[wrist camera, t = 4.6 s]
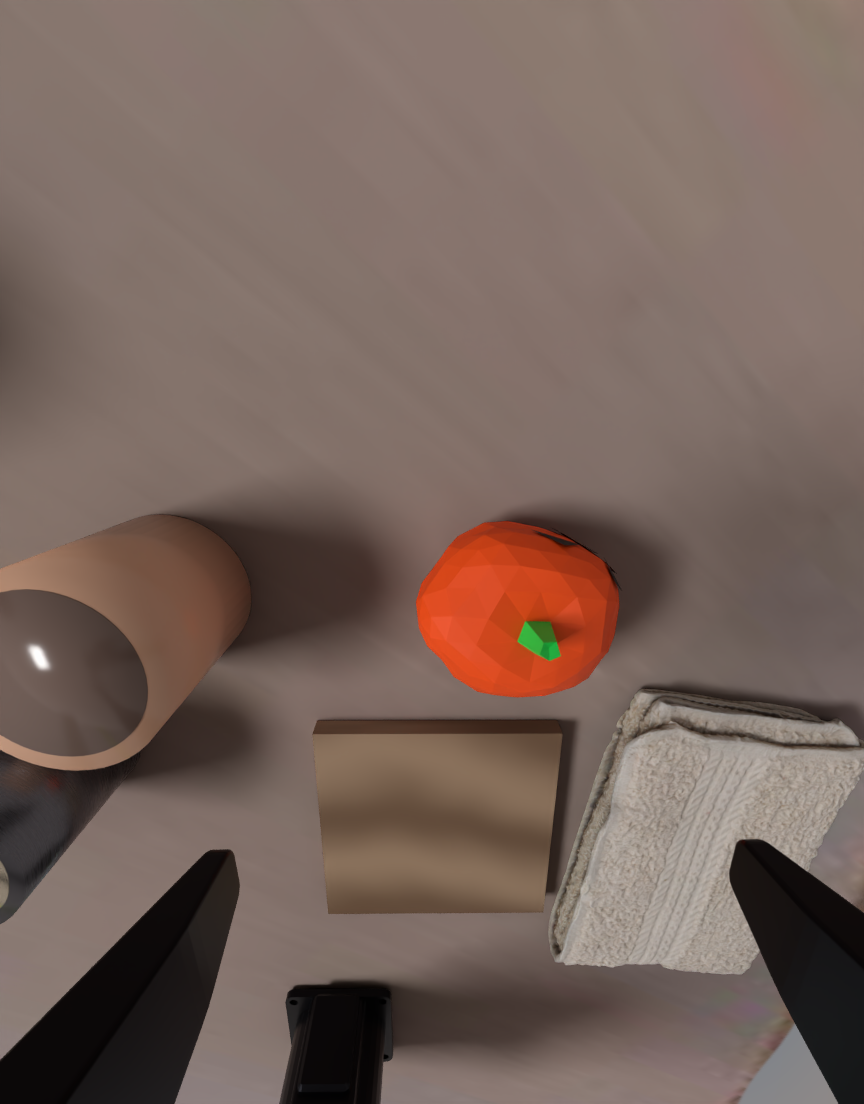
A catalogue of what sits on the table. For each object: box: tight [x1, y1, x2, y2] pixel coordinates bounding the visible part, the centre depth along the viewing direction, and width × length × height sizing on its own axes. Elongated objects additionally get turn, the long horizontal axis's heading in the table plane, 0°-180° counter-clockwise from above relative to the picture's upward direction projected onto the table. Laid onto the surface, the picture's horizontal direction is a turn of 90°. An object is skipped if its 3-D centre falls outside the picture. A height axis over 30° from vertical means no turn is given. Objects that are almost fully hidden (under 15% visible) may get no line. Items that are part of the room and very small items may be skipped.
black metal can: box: [0, 750, 140, 924], centre depth 20 cm, size 6×6×7 cm
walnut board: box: [312, 720, 563, 914], centre depth 24 cm, size 12×12×1 cm
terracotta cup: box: [0, 514, 251, 771], centre depth 17 cm, size 7×7×7 cm
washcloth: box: [549, 689, 864, 975], centre depth 24 cm, size 12×18×3 cm, turn 172°
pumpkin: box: [416, 521, 621, 697], centre depth 18 cm, size 7×8×6 cm
